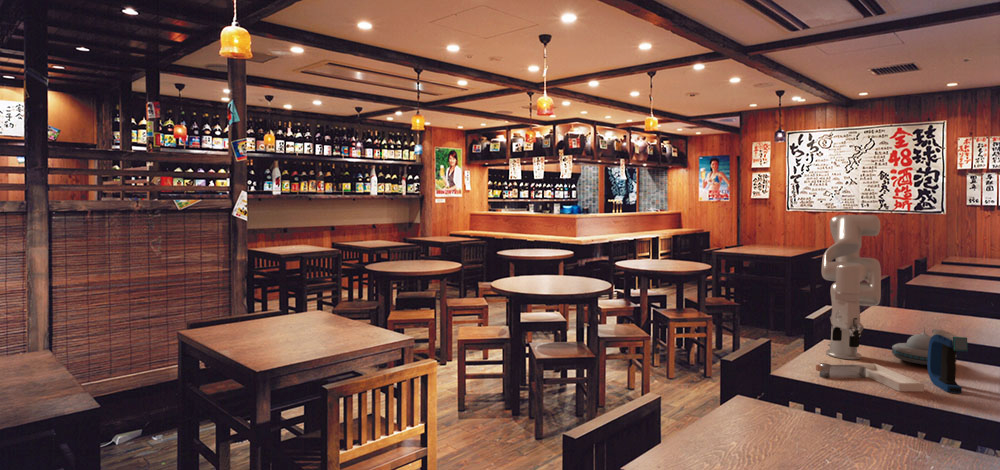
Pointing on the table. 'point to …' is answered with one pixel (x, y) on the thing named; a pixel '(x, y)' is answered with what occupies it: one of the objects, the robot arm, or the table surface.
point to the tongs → (841, 371)
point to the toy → (914, 349)
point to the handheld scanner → (944, 359)
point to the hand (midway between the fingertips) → (845, 343)
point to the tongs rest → (892, 378)
